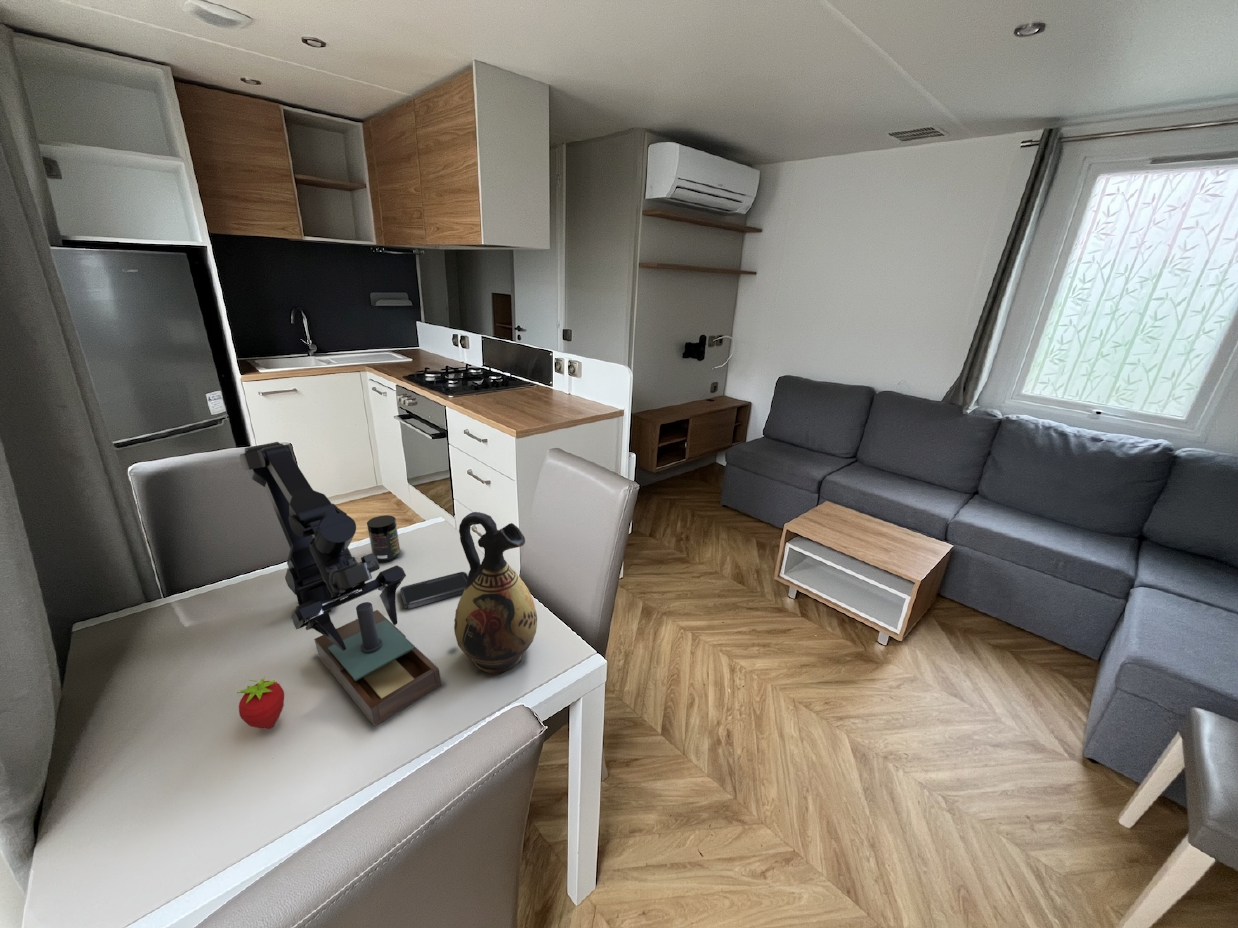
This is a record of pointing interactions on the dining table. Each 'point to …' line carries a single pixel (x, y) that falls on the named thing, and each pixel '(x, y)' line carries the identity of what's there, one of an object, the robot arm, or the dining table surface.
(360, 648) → the peg plate
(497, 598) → the ceramic jug
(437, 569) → the dining table surface
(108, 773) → the dining table surface
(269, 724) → the strawberry
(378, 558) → the supplement container
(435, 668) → the sliding lid box
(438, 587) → the phone
